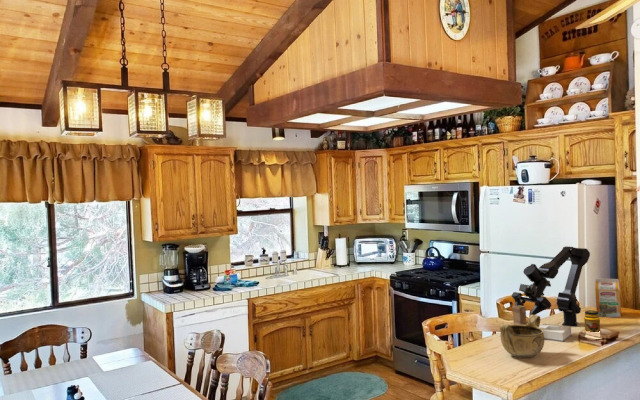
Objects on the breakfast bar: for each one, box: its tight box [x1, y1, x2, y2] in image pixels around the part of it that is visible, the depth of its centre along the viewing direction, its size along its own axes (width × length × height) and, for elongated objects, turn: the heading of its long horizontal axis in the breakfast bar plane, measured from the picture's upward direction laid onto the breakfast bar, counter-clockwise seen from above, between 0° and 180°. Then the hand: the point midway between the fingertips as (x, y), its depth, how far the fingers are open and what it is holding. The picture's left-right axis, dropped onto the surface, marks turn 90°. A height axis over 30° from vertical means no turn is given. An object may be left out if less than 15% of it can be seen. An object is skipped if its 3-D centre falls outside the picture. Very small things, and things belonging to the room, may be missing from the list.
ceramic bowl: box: [499, 314, 545, 359], centre depth 208 cm, size 22×17×15 cm
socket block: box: [539, 323, 572, 343], centre depth 232 cm, size 12×12×4 cm
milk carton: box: [594, 278, 622, 319], centre depth 263 cm, size 11×11×19 cm
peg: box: [512, 305, 528, 325], centre depth 235 cm, size 4×4×14 cm
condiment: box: [583, 309, 601, 332], centre depth 227 cm, size 7×8×12 cm
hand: (522, 314), depth 236 cm, fingers open, 9 cm apart
